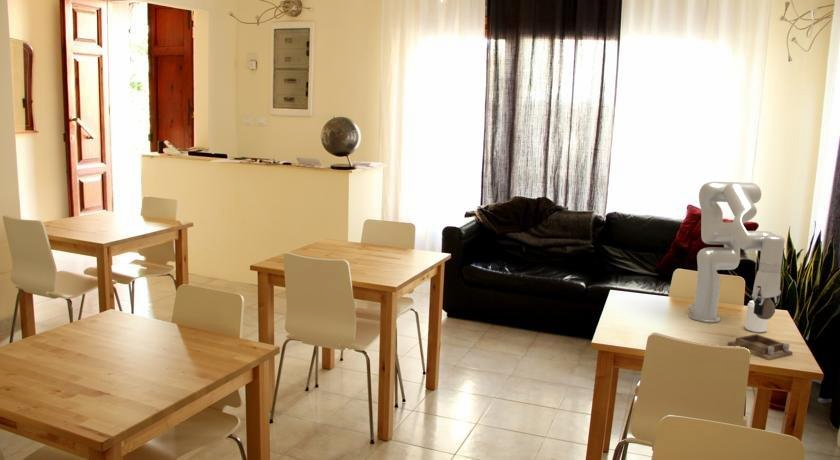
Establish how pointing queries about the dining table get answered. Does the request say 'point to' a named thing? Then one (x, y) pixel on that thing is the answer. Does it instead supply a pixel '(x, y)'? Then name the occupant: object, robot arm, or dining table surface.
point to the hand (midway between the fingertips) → (764, 313)
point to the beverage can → (754, 320)
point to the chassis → (762, 346)
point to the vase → (767, 309)
